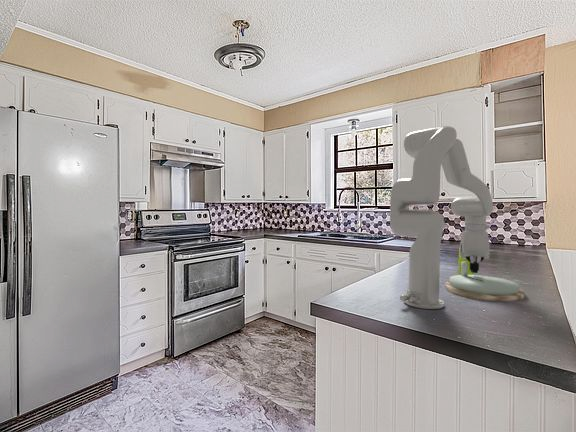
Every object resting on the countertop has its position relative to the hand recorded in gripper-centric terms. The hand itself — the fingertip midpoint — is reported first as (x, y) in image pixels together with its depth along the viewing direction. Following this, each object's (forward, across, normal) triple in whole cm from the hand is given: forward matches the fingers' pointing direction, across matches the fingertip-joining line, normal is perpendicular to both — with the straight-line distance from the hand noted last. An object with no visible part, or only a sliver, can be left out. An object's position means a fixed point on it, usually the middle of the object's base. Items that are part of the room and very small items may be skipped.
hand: (474, 272), depth 134 cm
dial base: (+5, 0, +10) cm, 11 cm away
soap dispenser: (+6, -1, -16) cm, 17 cm away
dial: (+4, 0, +10) cm, 10 cm away
